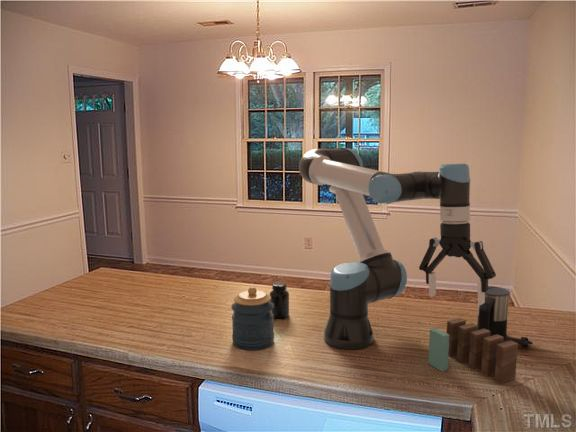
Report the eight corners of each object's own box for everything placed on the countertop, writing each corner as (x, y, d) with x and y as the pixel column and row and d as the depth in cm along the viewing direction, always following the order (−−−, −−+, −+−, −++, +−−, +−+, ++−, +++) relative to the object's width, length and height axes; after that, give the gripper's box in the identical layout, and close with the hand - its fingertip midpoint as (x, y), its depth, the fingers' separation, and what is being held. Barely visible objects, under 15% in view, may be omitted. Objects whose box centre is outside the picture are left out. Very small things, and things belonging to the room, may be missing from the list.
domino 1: (441, 371, 128) (443, 336, 127) (428, 363, 133) (429, 329, 131) (447, 369, 129) (449, 334, 128) (433, 361, 134) (435, 327, 132)
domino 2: (464, 352, 139) (465, 320, 137) (450, 356, 137) (452, 323, 135) (458, 350, 141) (460, 317, 139) (445, 353, 138) (447, 321, 137)
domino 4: (488, 365, 131) (490, 331, 130) (474, 369, 129) (476, 334, 127) (482, 362, 133) (484, 328, 131) (468, 366, 131) (470, 332, 129)
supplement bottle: (266, 318, 166) (266, 285, 164) (274, 311, 172) (274, 279, 170) (284, 321, 164) (284, 287, 162) (292, 314, 170) (291, 281, 168)
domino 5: (501, 372, 128) (503, 337, 126) (487, 376, 125) (489, 340, 124) (495, 369, 129) (497, 334, 128) (481, 373, 127) (483, 338, 125)
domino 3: (475, 359, 135) (477, 325, 133) (462, 363, 133) (464, 329, 131) (470, 356, 137) (472, 323, 135) (456, 360, 135) (458, 326, 133)
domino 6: (515, 379, 124) (517, 343, 122) (501, 384, 122) (503, 347, 120) (508, 376, 126) (511, 340, 124) (494, 380, 123) (497, 344, 122)
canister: (227, 337, 151) (225, 283, 148) (265, 330, 156) (264, 278, 153) (239, 354, 139) (238, 296, 136) (280, 346, 144) (280, 290, 141)
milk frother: (476, 327, 157) (478, 284, 155) (529, 334, 151) (533, 289, 149) (474, 344, 144) (477, 297, 142) (533, 353, 138) (537, 304, 136)
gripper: (405, 221, 133) (407, 295, 135) (498, 226, 116) (498, 311, 118) (419, 218, 138) (420, 289, 141) (508, 222, 121) (508, 303, 124)
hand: (456, 299), depth 129 cm, fingers open, 13 cm apart
